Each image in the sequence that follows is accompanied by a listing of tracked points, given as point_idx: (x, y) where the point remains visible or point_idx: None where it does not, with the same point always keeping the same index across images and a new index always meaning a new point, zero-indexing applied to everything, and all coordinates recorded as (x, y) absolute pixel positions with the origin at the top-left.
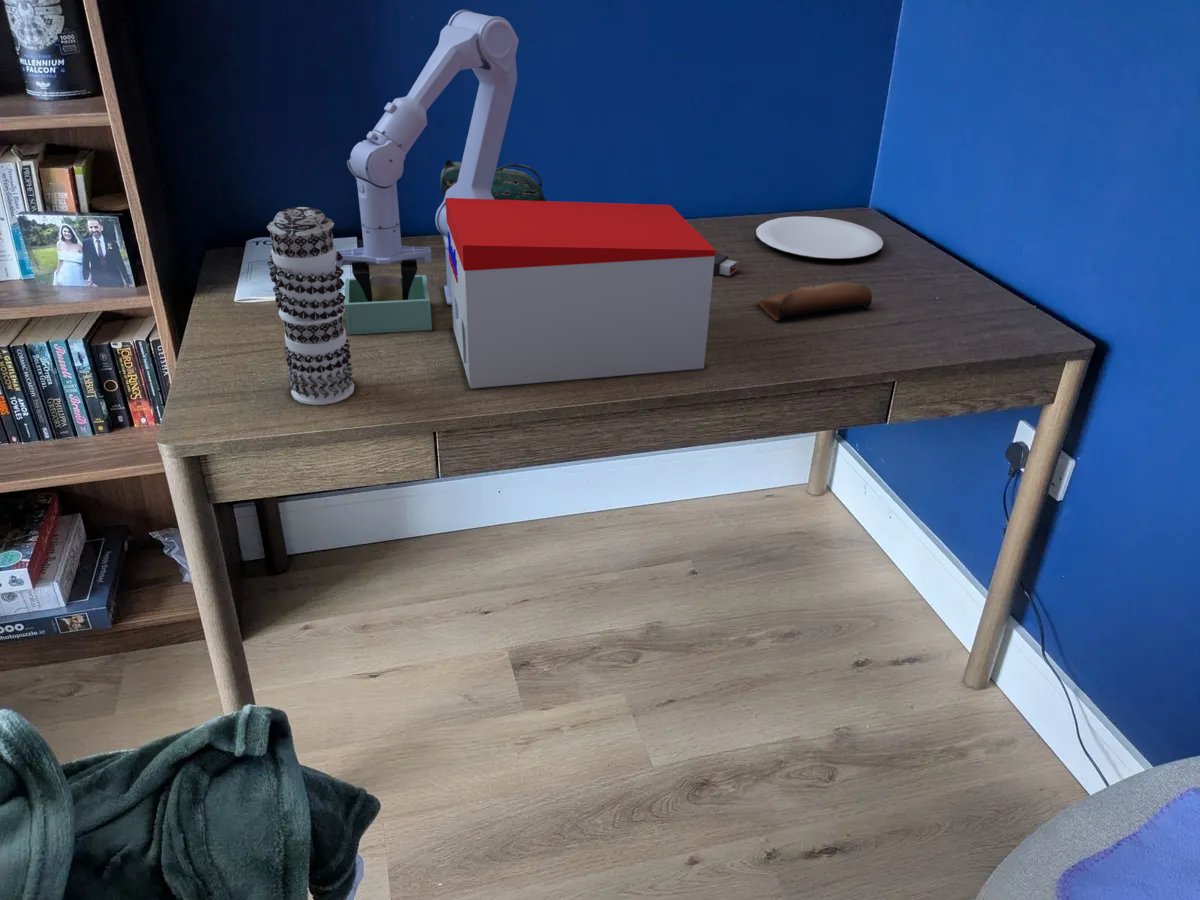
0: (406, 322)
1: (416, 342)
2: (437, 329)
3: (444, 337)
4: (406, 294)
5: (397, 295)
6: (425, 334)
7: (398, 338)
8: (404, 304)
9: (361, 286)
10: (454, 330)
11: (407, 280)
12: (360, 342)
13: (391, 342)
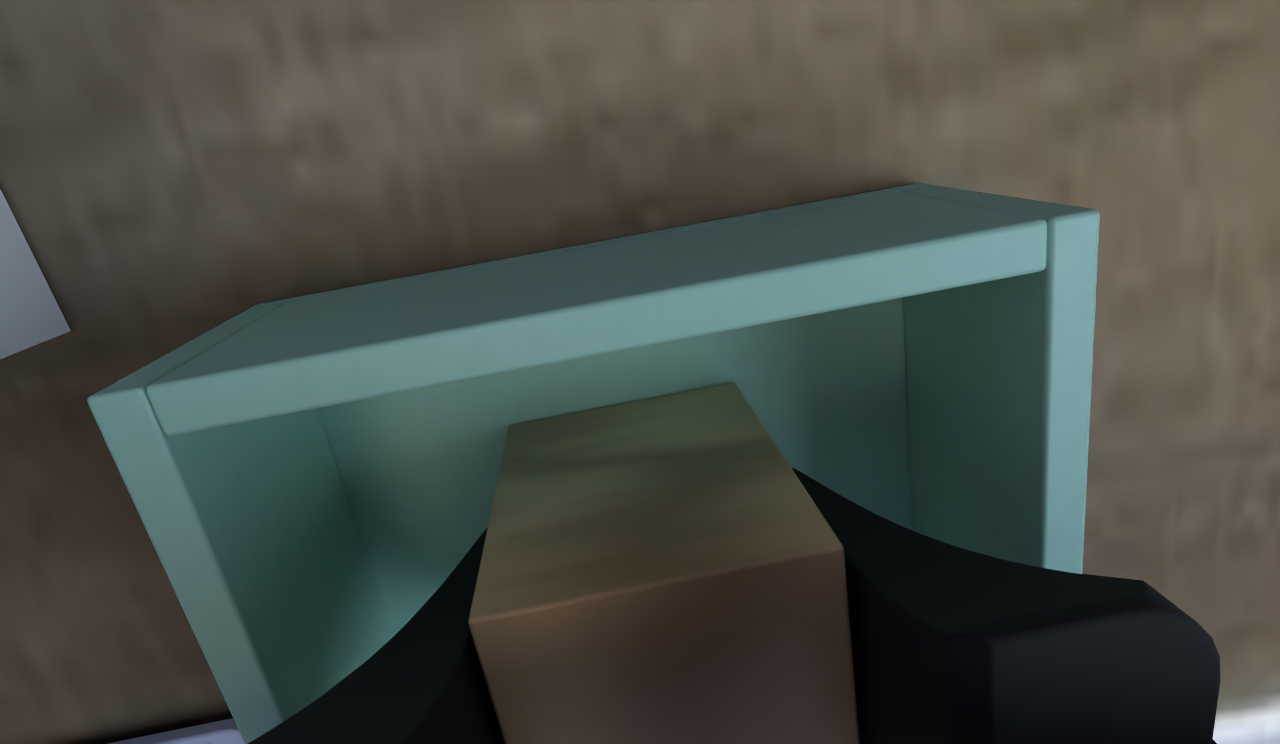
0: (444, 284)
1: (323, 38)
2: (213, 320)
3: (96, 156)
4: (452, 587)
5: (534, 533)
6: (288, 216)
7: (503, 124)
8: (411, 329)
9: (959, 548)
10: (4, 242)
11: (376, 691)
12: (809, 32)
13: (547, 35)
